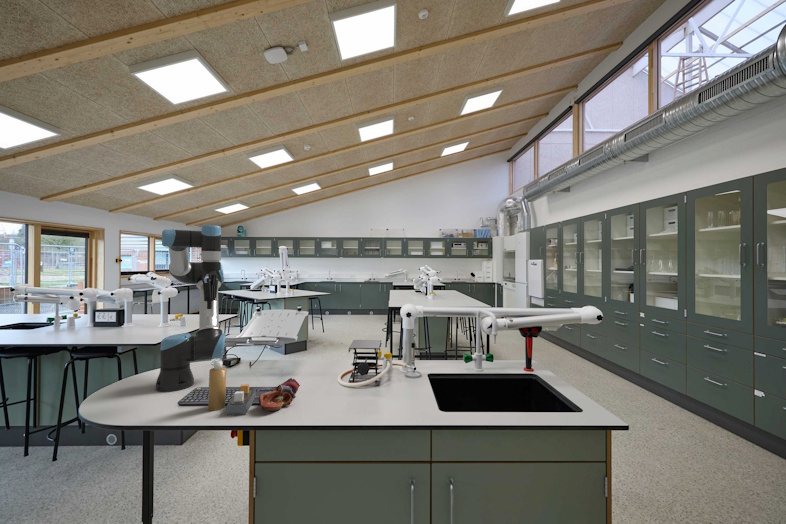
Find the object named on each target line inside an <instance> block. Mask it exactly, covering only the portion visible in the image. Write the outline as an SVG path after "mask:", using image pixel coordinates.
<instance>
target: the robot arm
mask: <svg viewBox="0 0 786 524" xmlns="http://www.w3.org/2000/svg"><path fill="white" fill-rule="evenodd" d="M161 246H163V247H167V248H168V251H169V252H168V254H169V259H170V262H169V264H168V271H169V273H170V276H171V277H172V278H173V279H175V280H176V281H178V282H181V283H183V284H186V285H196V288H197V289H199V312H198V313H199V317H198V318H199V322H198V324H199V325H198V326H199V329H198V330H196V331H195V335H191V333H189V332H185V333H183V332H182V333H178V334H173V335H169V336H167V337H164V338H163V339H162V340H161V342H160V348H159V351H160V362H159V363H160V366H159V367H160V370H159V373H158V377H157V379H156V381H155V388H154V389H155V390H156V391H158V392H176V391H180V390H185V389H188V388H189V387H192V386H193V385H194V384H195V378H194V374H193V372H192V370H191V369H192V368H191V363H192V362H197V361H198V362H200V361H209V360H210V361H211V360H215V359H221V358H223V356H224V351H225V345H226V344H225V343H226V336H227V335H226V333H223V330H222V329H221V327H220V320H219V319H220V318H219V316H220V315H219V313H220V312H219V288H221V287H222V284H224V282H225V276H224V269H223V266H222V264H221V263H222V262H220V261H222V250H221V249H222V227H221V225H216V224H215V225H214V224H203V225H202V226H201V230H189V229H188V230H187V229H174V228H173V229H163V230H162V233H161ZM189 248H196V249H197V248H198V249H199V248H201V250H200V251H201V252H200V254H199V256H201V257H200V259H201V262H198V261H197V262H193V261H189Z"/></svg>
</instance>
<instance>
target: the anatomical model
mask: <svg viewBox="0 0 786 524" xmlns="http://www.w3.org/2000/svg"><path fill="white" fill-rule="evenodd" d="M300 386H301V384H300V383H298V381H297V380H296V379H295V378H292V377H290V378H288V379H287V380H285V381H284V382H283V383H281V384H278V385H277V386H276V387H275V388H274V389H273V390H272V391H268V392H263V393H261V394H260V395H259V396H258V403H259V407H260V408H261V409H263V410H264V411H271V412H274V411H278V410H281V408H282V407H285V406H288V405H289V406H290V405H291V403H292V402H293V400H295V398H296V394H297V392H298V390H299V387H300Z"/></svg>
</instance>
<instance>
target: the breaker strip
mask: <svg viewBox="0 0 786 524" xmlns="http://www.w3.org/2000/svg"><path fill="white" fill-rule="evenodd" d="M255 397H257V390H256V389H253V388H252V387H249V393H248V394H244V400H243V401H241V402H234V396H233V397H231V400H230V401H229V402H228V403H227V405H225V416H227V417H228V416H243V415H244V416H245V415H247V413H248V411H249V410H250V408H251V407H252V405H253V403H254V402H253V400H254V398H255ZM254 401H255V400H254ZM252 402H253V403H252Z"/></svg>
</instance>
